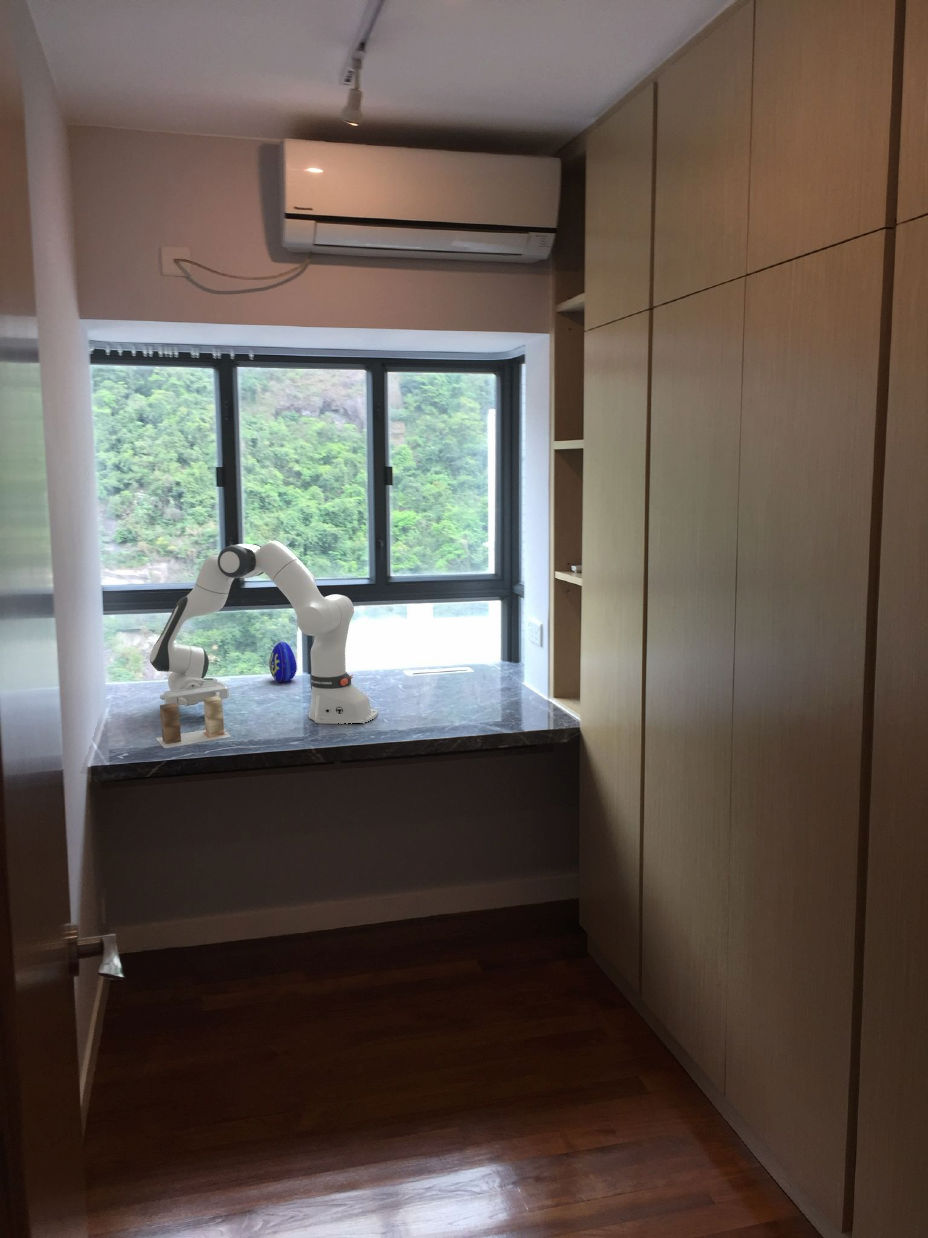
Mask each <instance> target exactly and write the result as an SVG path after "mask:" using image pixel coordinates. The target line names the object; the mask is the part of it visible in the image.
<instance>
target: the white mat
mask: <svg viewBox="0 0 928 1238" xmlns="http://www.w3.org/2000/svg"><path fill="white" fill-rule="evenodd" d="M231 737H232V735H231V734H229V733H228V732H227V731H226V729H224V734H222V735H216V736H209V735H208V734H207V733H206V729H202V730H201V729H200V730H196V731H195V730H194V731H190V732H183V733H181V742H177V743H171V744H165V742H164V741H163V739H162V736H160V737H155V739H156V740H157V741H158V743H160V745H161V746H162V747H163V748H164V749H168V748H175V747H180V746H186V745H191V744H198V743H204V742H208V741H209V742H210V741H215V740H221V739H225V738H231Z"/></svg>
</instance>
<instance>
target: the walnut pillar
mask: <svg viewBox="0 0 928 1238" xmlns="http://www.w3.org/2000/svg"><path fill="white" fill-rule="evenodd" d="M159 711H160V713H159V714H160V725H161V735H162V736H161V737H162V739H163V741H164V742H165V744H171V743H177V742H181V734H182V733H181V732H182V731H181V723H180V722H181V720H180V708H179V706H178V705H177V704H176V703H170V704H165V703H164V704H159Z"/></svg>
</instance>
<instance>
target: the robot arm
mask: <svg viewBox="0 0 928 1238" xmlns="http://www.w3.org/2000/svg"><path fill="white" fill-rule="evenodd" d="M263 574H265V575H266V576H267V577H268V578H269V579H270V580H271V582H272V583H273V584H274V585H275V586H276V587H277V588H278V589H279V591H281V593H282V594H283V595H284V596H285V597H286V598H287V600H288V602H290V603H289V604H291V606H292V609H293V610H294V611H295V614H296V623H297V627H298V628H299V630H300V631H301V632H302V633H303V634H305V635H306V636H309V637H312V636H313V637H314V640H313V641H314V642H313V644H312V646H311V649H310V667H311V669H310V671H311V673H310V675H309V677H310V679H309V683H310V689H311V695H310V696H311V697H310V706H309V712H308V715H307V716H308V719H310V720H313V721H314V723H315V724H326V725H327V724H330V725H331V724H334V725H337V724H338V723H339V724H338V725H341V724H342V725H349V724H348V723H351V724H350V725H353V724H352V723H363V724H366V723H365V722H367V723H368V721H369V722H371V721H372V719H373V720H374V719H375V718H376V717H377V716H378V710H377V709H376V708H375V709H374V708H371V702H370V698H369V695H367V694H366V693H364V692H363V691H361V690H360V689H359V688H357V686H355V685H353V683H352V679H354V674H348V672H347V671H346V668H347V667H346V645H347V639H348V633H349V627H350V624H351V621H352V618H353V616H354V612H355V608H354V604H353V602H352V600H351V599H350V598H349V597H348V596H346V595H342V594H330V595H327V596H324V595H322V594H321V592H320V590H319V588H318V587H317V584H316V578H315V575H314V574H313V573H312V572H311V570H309V568H307V566H306V565H305V564H304V563H303V562H302V561H301V560H300V559H299V558H298V557H297V556H296V555H295V554H294V553H293V552H292V551H291V550H290V549H288V547H286V546H285V545H284V544H283V543H281V542H279V541H277V540H271V541H268V542H265V543H264V544H263V545H259V544H256V543H252V544H249V543H238V544H231V545H228V546H226V547H225V548H223V549H222V550H221V551H220V552H219V554H211V555H209V556H207V557H206V558H205V560H204V562H203V563H202V566H201V568H200V570H199V573H198V575H197V577H196V580H195V583H194V586H193V588H192V590H191V591H190V592H189V593H188V594H186V596H183V597H181V598H180V599H179V600H178V601H177V602H176V605H175V606H174V608H173V610H172V612H171V614H170V616H169V618H168V620H167V622H166V623H165V626H164V628H163V630H162V631H161V634H160V635H159V638H158V639H157V640H156V642H155V644H154V645H153V647H152V649H151V651H150V655H149V662H150V664H151V666H152V667H153V668H154V669H155V670H156V671H157V672H164V673H169V672H170V674H169V676H168V678H167V684H168V688H169V690H166V691H164V692H163V694H161V695H159V698H160V700H163V701H164V704H170V703H176V704H177V705H178V706H184V707H188V706H194V705H197V704H200V703H204V698H208V697H215V696H218V697H220V698H221V699H222V700H224V699H228V698H229V697H230V691H229V686H227V685H226V684H224V683H223V682H220V681H218V679H217V678H214V677H213V678H212V677H209V678H205V677H206V675H207V673H208V670H209V665H210V659H209V656H208V654H207V652H206V650H205V649H204V648H203V647H200V646H197V645H195V646H194V645H189V644H188V645H187V644H183V643H182V644H181V643H177V642H175V640H176V638H177V636H178V634H179V633H180V630H181V629H182V627H183V626H184V625H183V624H184V623H186V621H188V620H190V619H192V618H195V617H200V616H207V615H208V616H209V615H211V614H214V613H217V612H219V611H220V610H221V609H223V607H224V606H225V605H226V602H227V599H228V597H229V593H230V589H231V586H232V583H233V582H234V580H235V579H242V578H243V579H249V578H253V577H258V576H261V575H263ZM370 720H371V721H370ZM344 723H346V724H344Z"/></svg>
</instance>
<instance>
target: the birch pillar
mask: <svg viewBox="0 0 928 1238" xmlns="http://www.w3.org/2000/svg"><path fill="white" fill-rule="evenodd" d="M203 711H204V713H203V714H204V726H205V730H206V733H207V734H208V735H209V736H216V735H222V734H224V730H225V725H224V709H223V699H221V698H220V697H218V696H215V697H208V698H204V702H203Z"/></svg>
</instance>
